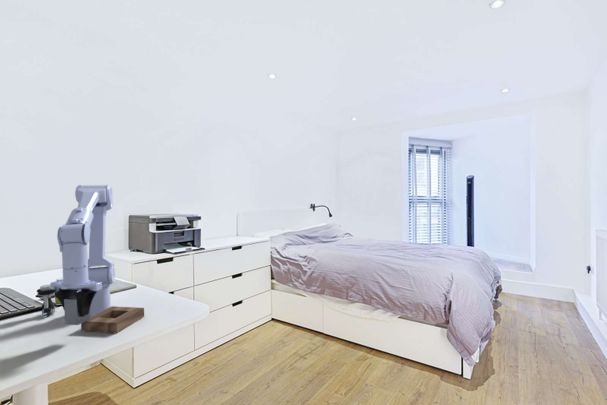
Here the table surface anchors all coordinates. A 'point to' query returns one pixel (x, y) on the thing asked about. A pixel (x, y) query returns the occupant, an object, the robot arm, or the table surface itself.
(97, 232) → the robot arm
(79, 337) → the table surface
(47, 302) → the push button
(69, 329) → the table surface
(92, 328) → the socket block
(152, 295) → the table surface
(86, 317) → the steel peg
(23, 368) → the table surface
